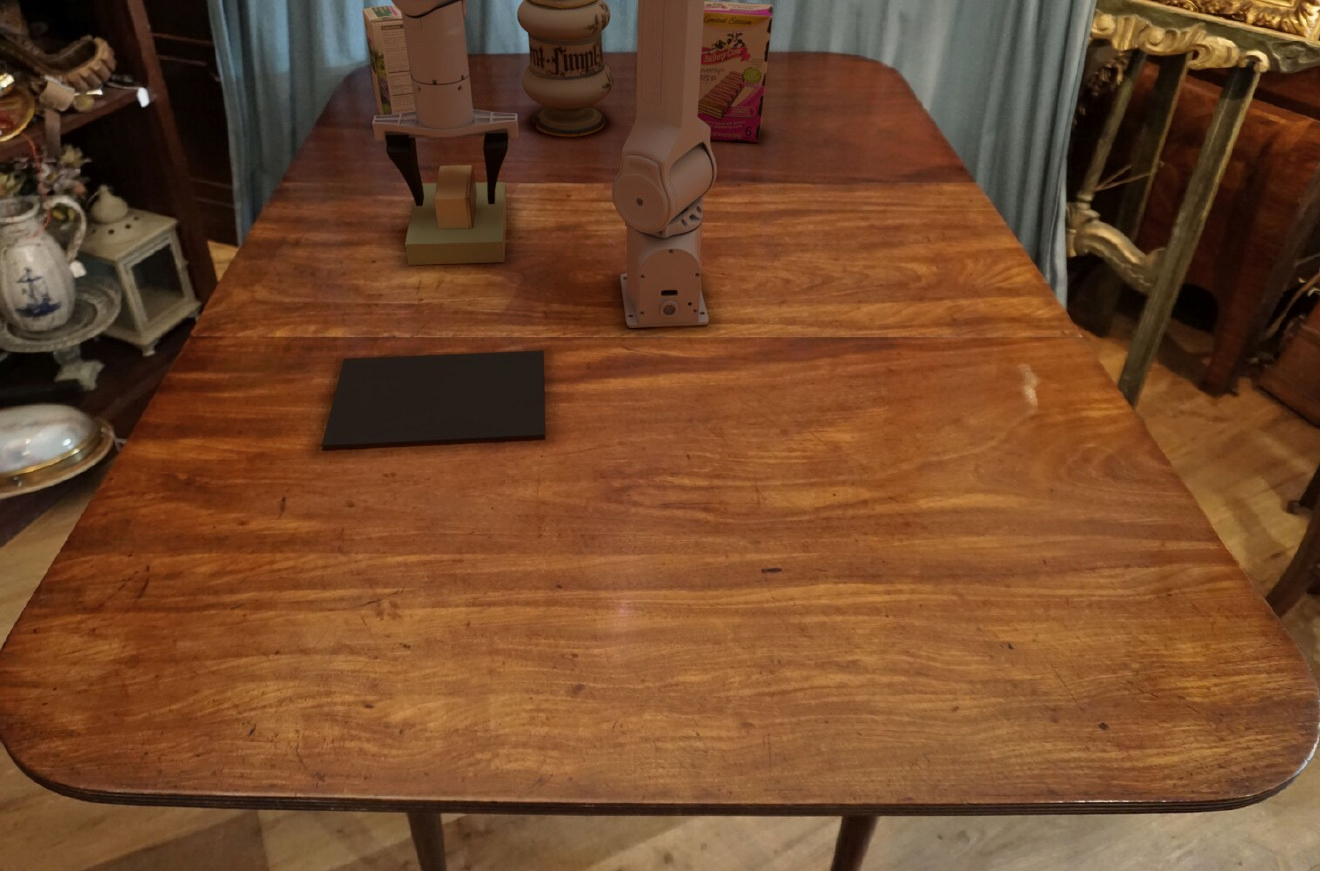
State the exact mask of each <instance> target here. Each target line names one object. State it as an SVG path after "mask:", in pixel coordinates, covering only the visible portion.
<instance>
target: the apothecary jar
mask: <svg viewBox="0 0 1320 871" xmlns="http://www.w3.org/2000/svg"><path fill="white" fill-rule="evenodd" d="M516 11H517V12H516V19H517V21H518V24H519V26H520V27H521V29H523V30H524V31H525V32H526V33H527V37H528V38H527V39H528V50H529V64H528V66H527V67H526V68H525V70H524V72H523V74H522V78H521V85H522V88H523V90H524V92H525V93H526V94H527V96H528V97H529V98H530V99H531V100H532V101H533V102H535V103H537V104H539V105H541V106H543V107H545V108H543V109H541V110H539V111H538V112H536V113H535V115H534V116H533V119H532V123H534V124H535V125H536V126H535V127H536V130H538V131H540V132H541V133H544V134H546V135H551V136H554V137H561V138H562V137H563V138H576V137H583V136H588V135H591V134H595V133H597V132H598V131H600V130H601V129H603V128H604V126H605V125H606V117H605V115H604V114H603V113H602V112H601V111H599V110H597V109H595V108H593V107H592V106H594V105H596V104H598V103H599V102H601V101H602V100H603V99H605V98H606V97H607V96H608V95H609V94H610V92H611V91H612V90H613V86H614V76H613V73H612V70H611V69H610V68H609V66H608V65H607V64H606V63H605V62H604V56H603V55H604V54H603V41H602V40H603V38H602V36H603V35H602V31H604V29H606V28H607V27H608V25H609V23H610V20H611V10H610V7H609V5H608V3H606V1H605V0H522V1H521V3H520V4H519V6H518V8H517V10H516Z"/></svg>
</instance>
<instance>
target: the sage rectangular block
mask: <svg viewBox="0 0 1320 871" xmlns="http://www.w3.org/2000/svg"><path fill="white" fill-rule="evenodd" d="M422 185H423V192H424V201H423V206H416V204H415V201H414V200H413V203H412V208H411V213H410V217H409V218H410V219H409V222H408V226H407V230H406V231H407V232H406V235H405V236H406V237H405V241H404V247H405V248H404V249H405V253H406V254H405V255H406V260H407V265H408V266H421V265H422V266H423V265H424V266H426V265H427V266H428V265H430V266H431V265H456V264H457V265H458V264H459V265H460V264H462V265H463V264H489V263H490V264H491V263H493V264H494V263H505V257H506V256H505V254H506V233H507V210H508V208H507V207H508V199H507V198H508V196H507V186H506V181H497V183H496V189H495V204H488V198H487V181H485V182H476V191H477V197H476V208H475V218H474V228H455V229H438V223H437V216H436V209H435V202H434V197H435V191H436V185H437V183H422Z"/></svg>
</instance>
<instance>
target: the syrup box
mask: <svg viewBox="0 0 1320 871" xmlns="http://www.w3.org/2000/svg"><path fill="white" fill-rule="evenodd" d="M362 17H363V22H364V28H365V36H366V44H367V49H368V50H367V51H368V57H369V62H370V69H371V75H372V76H371V77H372V84H373V88H374V94H375V101H376V106H377V112H378V115H391V114H398V113H405V112H411V111H416V108H415V102H414V95H413V88H412V81H411V75H410V68H409V61H408V55H407V48H406V41H405V34H404V28H403V21H402V14H401V11H400V10H399V9H398V8H397V7H396V6H395V5H394V4H393V5H378V6H372V7H367V8H363V9H362Z"/></svg>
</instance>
